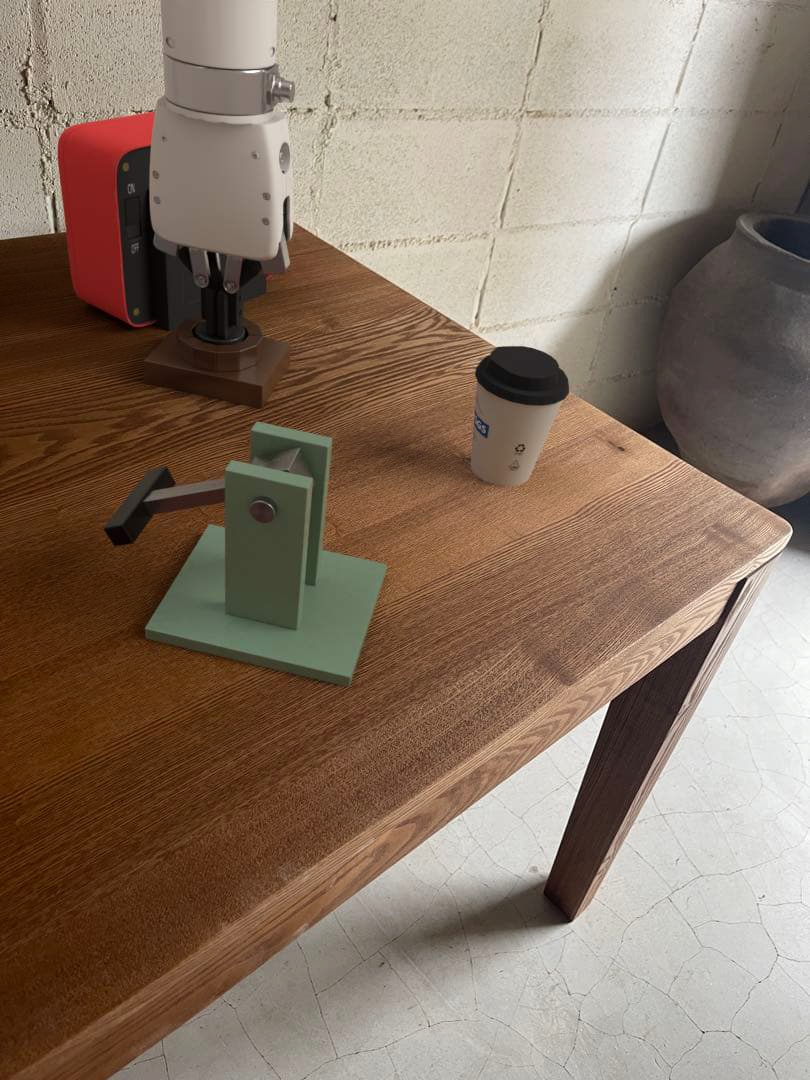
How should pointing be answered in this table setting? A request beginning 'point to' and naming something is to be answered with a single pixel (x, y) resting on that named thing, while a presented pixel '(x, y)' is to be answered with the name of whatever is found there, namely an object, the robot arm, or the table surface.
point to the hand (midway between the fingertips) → (222, 329)
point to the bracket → (273, 573)
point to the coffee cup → (514, 412)
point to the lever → (184, 494)
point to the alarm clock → (123, 227)
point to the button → (232, 339)
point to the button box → (219, 365)
